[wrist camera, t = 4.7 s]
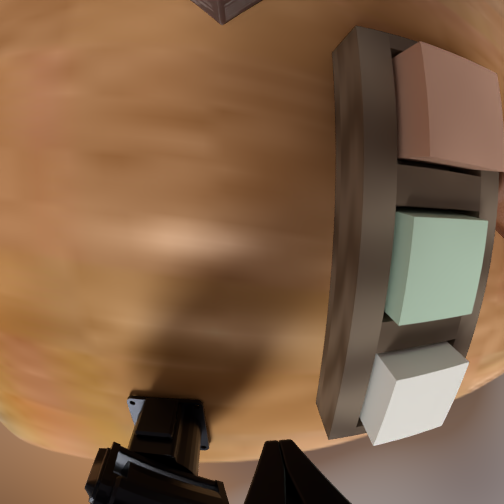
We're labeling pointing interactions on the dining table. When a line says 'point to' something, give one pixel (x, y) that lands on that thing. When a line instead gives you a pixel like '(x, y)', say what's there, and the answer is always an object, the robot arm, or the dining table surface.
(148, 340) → the dining table surface
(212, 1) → the box
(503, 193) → the sunglasses case
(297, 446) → the robot arm
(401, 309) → the key sage
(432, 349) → the key cream
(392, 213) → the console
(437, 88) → the key terracotta
